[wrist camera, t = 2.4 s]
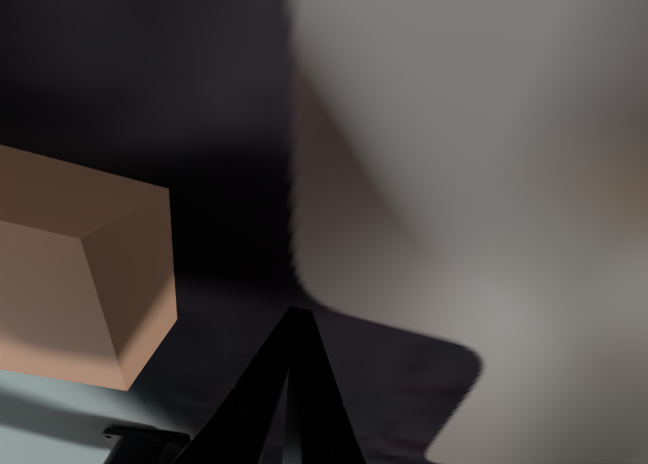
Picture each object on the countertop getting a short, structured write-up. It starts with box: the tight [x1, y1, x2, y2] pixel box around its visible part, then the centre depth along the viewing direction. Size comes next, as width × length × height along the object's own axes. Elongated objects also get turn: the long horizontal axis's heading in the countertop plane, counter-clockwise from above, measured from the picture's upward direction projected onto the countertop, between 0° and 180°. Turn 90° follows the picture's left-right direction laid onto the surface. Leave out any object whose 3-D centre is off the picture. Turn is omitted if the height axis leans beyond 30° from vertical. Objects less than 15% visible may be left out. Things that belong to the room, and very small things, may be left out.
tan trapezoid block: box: [0, 145, 177, 391], centre depth 8 cm, size 7×7×4 cm
